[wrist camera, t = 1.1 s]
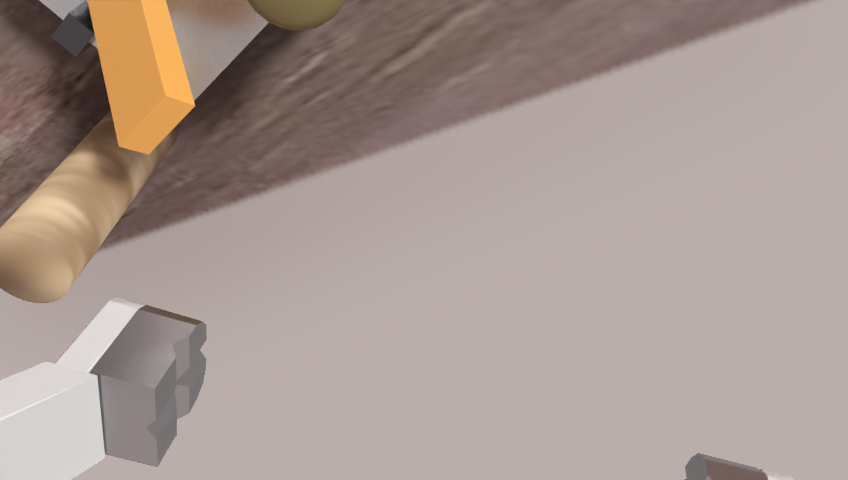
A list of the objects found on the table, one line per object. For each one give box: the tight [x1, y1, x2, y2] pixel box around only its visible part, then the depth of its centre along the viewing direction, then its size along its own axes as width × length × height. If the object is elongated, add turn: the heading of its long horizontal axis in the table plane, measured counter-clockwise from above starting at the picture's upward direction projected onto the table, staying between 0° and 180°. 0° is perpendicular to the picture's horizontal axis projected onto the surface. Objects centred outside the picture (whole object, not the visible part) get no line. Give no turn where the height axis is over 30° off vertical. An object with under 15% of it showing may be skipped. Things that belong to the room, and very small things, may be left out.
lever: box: [87, 0, 195, 154], centre depth 37 cm, size 2×4×11 cm
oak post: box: [0, 110, 178, 303], centre depth 43 cm, size 4×4×16 cm
